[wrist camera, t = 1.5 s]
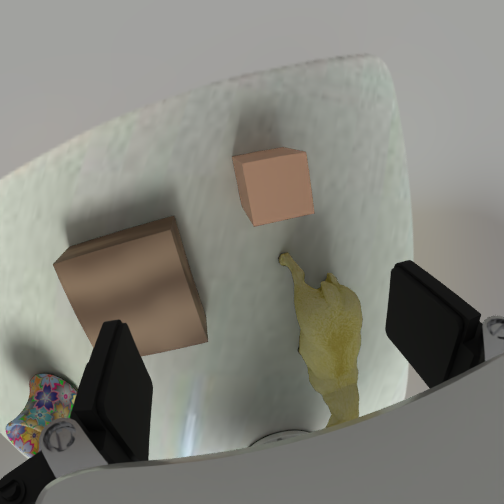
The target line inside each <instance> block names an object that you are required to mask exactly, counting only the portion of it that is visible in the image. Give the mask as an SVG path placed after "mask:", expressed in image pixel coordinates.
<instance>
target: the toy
mask: <svg viewBox="0 0 504 504" xmlns="http://www.w3.org/2000/svg"><path fill="white" fill-rule="evenodd" d="M279 263H280V264H281V265H282V266H287V267H288V268H289V269H290V271H291V273H292V276H293V280H294V305H295V310H296V315H297V320H298V323H299V326H300V328H301V330H300V337H299V348H298V352H299V353H300V355H302V358H303V360H304V361H305V363H306V364H307V368H308V374H309V381H310V383H311V384H312V386H313V388H314V389H315V391H317V392H319V393H320V394H322V396H323V399H324V401H325V403H326V404H327V405H328V406H329V409H330V412H331V414H332V415H331V417H330V419H329V422H328V424H327V426H326V428H328V427H331V426H334V425H338V424H341V423H344V422H347V421H350V420H353V419H356V418H358V417H359V410H358V409H359V394H358V388H357V380H358V369H357V356H358V353H359V350H360V345H361V335H360V330H361V327H362V320H363V319H362V312H361V305H360V301H359V299H358V297H357V295H356V294H355V292H353V291H352V290H351V289H349V288H348V287H345V286H344V285H340V284H339V283H338V281H337V278H336V277H335V276H334V275H333V274H332V273H327V278H326V280H325V281H322V282H321V288H318V289H314V288H312V287H310V286H309V285H307V284H306V283H305V281H304V277H305V273H304V271H303V270H302V269H301V268H300V267H299V266H298V265H297V263H296V262H295V261H294V260H293V259H292V257H291V256H290V254H289V253H288V252H287V253H283V254H281V255H280V257H279Z"/></svg>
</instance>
